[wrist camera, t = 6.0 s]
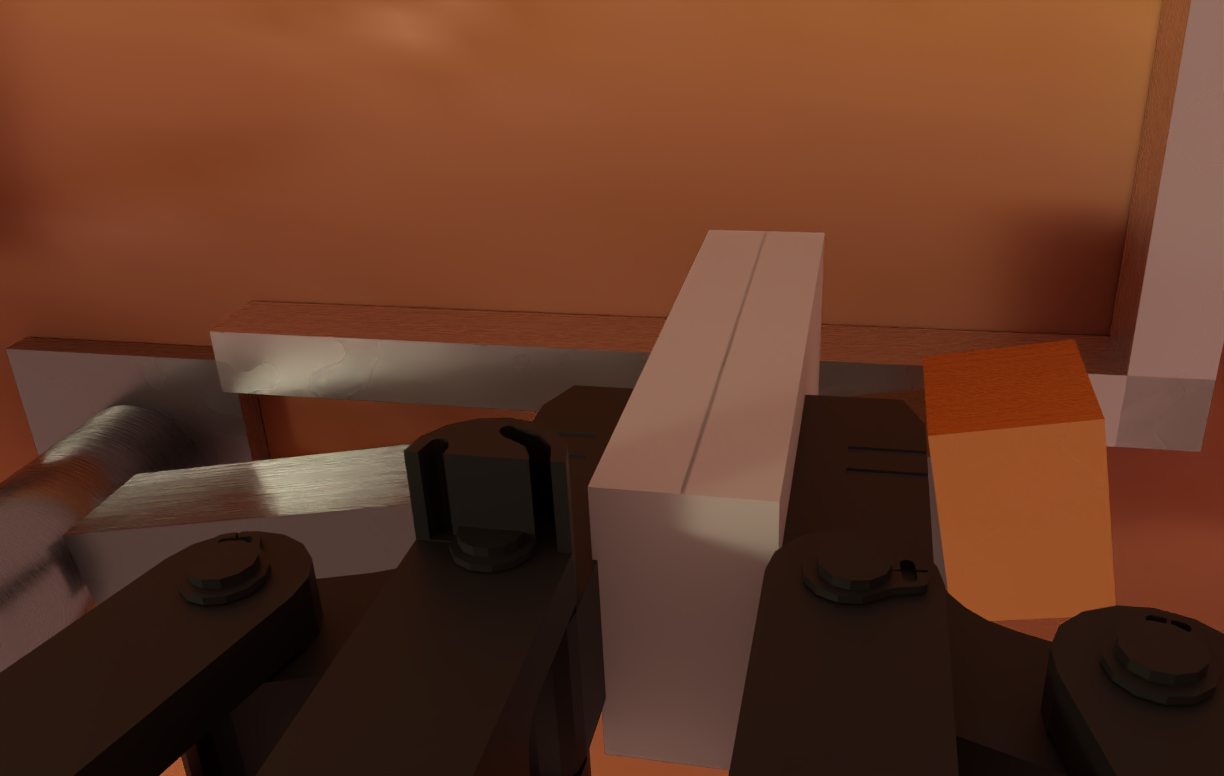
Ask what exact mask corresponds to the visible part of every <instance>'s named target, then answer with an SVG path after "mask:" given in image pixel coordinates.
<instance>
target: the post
mask: <svg viewBox="0 0 1224 776" xmlns="http://www.w3.org/2000/svg"><path fill="white" fill-rule="evenodd" d="M6 352H7V355H8V358H9V361H10V365H11V368H12V371H13V374H14V378H15V381H16V384H17V387H18V391H19V394H20V397H21V401H22V404H23V407H24V410H25V414H26V417H27V420H28V423H29V427H30V430H31V433H32V437H33V440H34V443H35V446H36V450H37V453H38V457H36V458H35V459H34V460H32V461H31V462H30V463H28V464H27V465H25V466H24V467H23V468H21V469H20V470H18V471H17V472H16V473H14V474H13V475H11V476H10V477H9V478H7V479H6V480H4V481H3V482H2V483H0V672H2V671H3V670H5V669H6V668H8V667H9V666H10V665H12V664H13V663H15V662H16V661H18V660H19V659H21V658H22V657H24V656H25V655H26V654H28V653H29V652H31V651H32V650H34V649H35V648H37V647H38V646H40V645H41V644H42V643H44V642H45V641H47V640H48V639H50V638H51V637H53V636H54V635H56V634H57V633H58V632H60V631H61V630H63V629H64V628H66V627H67V626H69V625H70V624H71V623H73V622H74V621H76V620H77V619H79V618H80V617H82V616H83V615H85V614H86V613H87V612H89V611H90V610H92V609H93V608H95V607H96V604H95V602H94V600H93V597H92V595H91V593H90V591H89V589H88V587H87V585H86V583H85V581H84V579H83V577H82V575H81V573H80V571H79V569H78V567H77V565H76V563H75V561H74V559H73V556H72V554H71V552H70V550H69V548H68V546H67V544H66V542H65V540H64V538H63V535H64V534H65V533H66V532H67V531H69V530H70V529H71V528H72V527H73V526H75V525H76V524H77V523H78V522H79V521H81V520H82V519H83V518H84V517H85V516H87V515H88V514H89V513H90V512H91V511H93V510H94V509H95V508H96V507H97V506H99V505H100V504H101V503H102V502H103V501H105V500H106V499H107V498H108V497H109V496H111V495H112V494H113V493H114V492H115V491H117V490H118V489H119V488H120V487H121V486H123V485H124V484H125V483H126V482H127V481H129V480H130V479H131V478H132V477H133V476H135V475H136V474H140V473H150V472H159V471H168V470H177V469H186V468H196V467H205V466H214V465H223V464H233V463H242V462H251V461H260V460H269V459H270V458H269V453H268V448H267V443H266V438H265V433H264V428H263V423H262V418H261V413H260V408H259V403H258V399H257V394H247V393H231V392H222V387H221V383H220V378H219V374H218V369H217V364H216V360H215V355H214V351H213V347H206V346H187V345H167V344H148V343H129V342H109V341H90V340H71V339H51V338H32V337H26V338H24V339H22V340H20V341H19V342H17V343H15V344H13V345H12V346H10V347H8V348H6Z"/></svg>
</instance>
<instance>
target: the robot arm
mask: <svg viewBox="0 0 1224 776" xmlns="http://www.w3.org/2000/svg"><path fill="white" fill-rule="evenodd" d="M824 238H825V233H822V232H779V231H739V230H709V231H708V233H707V235H706V237H705V239H704V241H703V244H702V246H701V248H700V250H699V252H698V254H697V256H696V258H695V261H694V263H693V265H692V267H691V269H690V271H689V273H688V275H687V277H686V280H685V282H684V284H683V286H682V288H681V290H680V292H679V294H678V297H677V299H676V301H675V303H674V305H673V307H672V309H671V311H670V313H669V316H668V318H667V320H666V322H665V324H664V326H663V328H662V330H661V333H660V335H659V337H658V339H657V341H656V343H655V345H654V347H653V349H652V352H651V354H650V356H649V358H648V360H647V362H646V364H645V366H644V369H643V371H642V373H641V375H640V377H639V379H638V381H637V383H636V385H635V388H616V387H598V386H580V385H574V386H572V387H571V388H569V389H567V390H566V391H564V392H563V393H561V394H560V395H558V396H556V397H555V398H553V399H552V400H550V401H549V402H547V403H545V404H544V405H543V406H542V408H541V409H540V411H539V412H538V414H537V416H536V417H535V419H534V420H533V422H530V421H524V420H519V419H513V418H487V419H474V420H470V421H465V422H460V423H455V424H450V425H446V426H444V427H442V428H439V429H437V430H435V431H432V432H430V433H428V434H425V435H423V436H421V437H420V438H418V439H417V440H416V441H415V442H414V443H412V444H411V445H410V446H409V447H407V448H406V449H405V450H404V451H403V452H404V459H405V466H406V473H407V480H408V487H409V494H410V501H411V507H412V514H413V521H414V528H415V535H416V540H415V542H414V543H413V545H412V546H411V548H410V549H409V551H408V552H407V554H406V555H405V556H404V558H403V559H402V561H401V562H400V564H399V565H398V567H397V568H396V569H390V570H385V571H379V572H374V573H365V574H356V575H347V576H338V577H329V578H319V579H316V576H315V571H314V566H313V560H312V558H311V556H310V554H309V553H308V551H307V549H306V547H305V546H304V544H303V543H301V542H299V541H297V540H295V539H293V538H290V537H288V536H286V535H284V534H278V533H269V532H261V531H241V533H237V532H233V533H226V534H221V535H218V536H216V537H215V538H211V539H208V540H205V541H201V542H198V543H195V544H192V545H190V546H189V547H187V548H185V549H183V550H181V551H179V552H177V553H175V554H174V555H172V556H170V557H168V558H166V559H164V560H163V561H162V562H160V563H159V564H157V565H156V566H154V567H153V568H151V569H150V570H149V571H147V572H146V573H144V574H143V575H141V576H140V577H138V578H137V579H135V580H134V581H133V582H131V583H130V584H128V585H127V586H125V587H124V588H122V589H121V590H119V591H118V592H117V593H115V594H114V595H112V596H111V597H109V598H108V599H106V600H105V601H103V602H102V603H101V604H99V605H98V606H96V607H95V608H93V609H92V610H90V611H89V612H87V613H86V614H85V615H83V616H82V617H80V618H79V619H77V620H76V621H74V622H73V623H71V624H70V625H69V626H67V627H66V628H64V629H63V630H61V631H60V632H58V633H57V634H56V635H54V636H53V637H51V638H50V639H48V640H47V641H45V642H44V643H42V644H41V645H40V646H38V647H37V648H35V649H34V650H32V651H31V652H29V653H28V654H26V655H25V656H24V657H22V658H21V659H19V660H18V661H16V662H15V663H13V664H12V665H10V666H9V667H8V668H6V669H5V670H3V671H2V672H0V776H159V775H160V774H161V773H163V772H164V771H165V770H166V769H167V768H168V767H169V766H170V765H172V764H173V763H174V762H175V761H176V760H177V759H178V758H179V757H181V758H182V761H183V765H184V768H185V772H186V775H187V776H591V766H590V752H589V748H590V745H591V742H592V739H593V736H594V733H595V730H596V727H597V724H598V721H599V718H600V715H601V712H602V720H603V736H604V752H605V754H609V755H617V756H625V757H632V758H640V759H648V760H655V761H663V762H671V763H678V764H685V765H693V766H700V767H708V768H716V769H724V770H729V776H1224V634H1223V633H1221V632H1219V631H1217V630H1215V629H1213V628H1211V627H1209V626H1207V625H1205V624H1203V623H1201V622H1199V621H1197V620H1195V619H1192V618H1188V617H1185V616H1181V615H1178V614H1175V613H1170V612H1168V611H1163V610H1159V609H1156V608H1144V607H1130V606H1110V607H1104V608H1099V609H1094V610H1088V611H1083V612H1081V613H1079V614H1078V615H1076V616H1074V617H1073V618H1071V619H1070V620H1068V621H1066V622H1065V623H1063V624H1061V625H1060V626H1059V628H1058V630H1057V633H1056V635H1055V637H1054V640H1053V642H1050V641H1047V640H1043V639H1040V638H1037V637H1033V636H1030V635H1027V634H1024V633H1020V632H1017V631H1014V630H1011V629H1009V628H1006V627H1004V626H1001V625H998V624H996V623H993V622H990V621H988V620H986V619H985V618H983V617H981V616H979V615H978V614H976V613H974V612H972V611H971V610H969V609H967V608H966V607H964V606H963V605H962V604H961V603H960V602H958V601H957V600H956V599H955V598H954V597H953V596H951V595H950V594H949V593H948V591H947V590H946V589H945V584H944V582H943V579H942V577H941V574H940V572H939V570H938V567H937V565H935V564H934V558H933V542H932V526H931V510H930V494H929V479H928V461H927V445H926V429H925V424H924V422H923V421H922V420H921V419H920V418H919V417H918V416H917V415H916V414H915V413H914V412H913V410H912V409H911V408H910V407H909V406H908V405H907V404H906V403H905V402H904V401H903V400H894V399H876V398H858V397H839V396H821V395H818V393H819V367H820V341H821V316H822V290H823V264H824Z"/></svg>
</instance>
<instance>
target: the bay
mask: <svg viewBox="0 0 1224 776" xmlns="http://www.w3.org/2000/svg"><path fill="white" fill-rule="evenodd" d="M666 320H667V318H650V317H625V316H601V315H577V314H553V313H528V312H504V311H480V310H456V309H432V308H407V307H383V306H359V305H335V304H310V303H286V302H262V301H251V302H250V303H248V304H247V305H246V306H244V307H243V308H241V309H240V310H239V311H237V312H236V313H234V314H233V315H232V316H230V317H229V318H227V319H226V320H225V321H223V322H222V323H220V324H219V325H217V326H216V327H215V328H213V329H212V330H210V331H209V332H210V337H211V341H212V346H213V351H214V355H215V360H216V364H217V369H218V374H219V378H220V383H221V387H222V392H231V393H247V394H263V395H279V396H296V397H312V398H328V399H345V400H361V401H377V402H394V403H410V404H426V405H442V406H459V407H475V408H491V409H508V410H524V411H540V409H541V408H542V406H543V405H544V404H545V403H547V402H549V401H550V400H552V399H553V398H555V397H556V396H558V395H560V394H561V393H563V392H564V391H566V390H567V389H569V388H571V387H572V386H574V385H580V386H598V387H616V388H635V385H636V383H637V381H638V379H639V377H640V375H641V373H642V371H643V369H644V366H645V364H646V362H647V360H648V358H649V356H650V354H651V352H652V349H653V347H654V345H655V343H656V341H657V339H658V337H659V335H660V333H661V330H662V328H663V326H664V324H665V322H666ZM1071 339H1075V342H1076V345H1077V347H1078V350H1079V353H1080V355H1081V358H1082V360H1083V363H1084V366H1085V368H1086V371H1087V374H1088V376H1089V379H1090V382H1091V384H1092V387H1093V390H1094V392H1095V395H1096V397H1097V400H1098V403H1099V405H1100V408H1101V411H1102V413H1103V416H1104V419H1105V433H1106V446H1110V447H1127V448H1143V449H1159V450H1176V451H1192V452H1201V448H1202V443H1203V439H1204V434H1205V429H1206V424H1207V419H1208V415H1209V410H1210V405H1211V400H1212V396H1213V391H1214V386H1215V381H1216V376H1217V372H1218V367H1219V362H1220V357H1221V352H1222V348H1223V343H1224V0H1163V6H1162V13H1161V19H1160V25H1159V31H1158V38H1157V44H1156V50H1155V56H1154V63H1153V69H1152V75H1151V81H1150V88H1149V94H1148V100H1147V106H1146V112H1145V119H1144V125H1143V131H1142V137H1141V144H1140V150H1139V156H1138V162H1137V169H1136V175H1135V181H1134V187H1133V194H1132V200H1131V206H1130V212H1129V218H1128V225H1127V231H1126V237H1125V243H1124V250H1123V256H1122V262H1121V268H1120V275H1119V281H1118V287H1117V293H1116V300H1115V306H1114V312H1113V318H1112V325H1111V331H1110V336H1086V335H1061V334H1037V333H1013V332H989V331H964V330H940V329H916V328H892V327H868V326H843V325H821V341H820V367H819V393H818V395H821V396H839V397H850V396H860V395H869V394H878V393H887V392H896V391H906V390H915V389H924V388H925V387H924V372H923V357H925V356H934V355H942V354H951V353H959V352H968V351H976V350H985V349H994V348H1002V347H1011V346H1019V345H1028V344H1036V343H1045V342H1054V341H1062V340H1071Z"/></svg>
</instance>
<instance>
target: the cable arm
mask: <svg viewBox="0 0 1224 776" xmlns="http://www.w3.org/2000/svg"><path fill="white" fill-rule="evenodd" d="M923 372H924V387H925V388H924V389H915V390H906V391H896V392H887V393H878V394H869V395H860V396H850V397H858V398H876V399H894V400H903V401H904V402H905V403H906V404H907V405H908V406H909V407H910V408H911V409H912V410H913V412H914V413H915V414H916V415H917V416H918V417H919V418H920V419H921V420H922V421H923V422H924V424H925V429H926V445H927V461H928V479H929V494H930V510H931V526H932V542H933V558H934V564H935V565H937V567H938V570H939V572H940V574H941V577H942V579H943V582H944V584H945V589H948V593H949V594H950V595H951V596H953V597H954V598H955V599H956V600H957V601H958V602H960V603H961V604H962V605H963V606H964V607H966V608H967V609H969V610H971V611H972V612H974V613H976V614H978V615H979V616H981V617H983V618H985V619H986V620H988V621H1005V620H1026V619H1047V618H1068V617H1074V616H1076V615H1078V614H1079V613H1081V612H1083V611H1088V610H1094V609H1099V608H1104V607H1110V606H1116V599H1115V583H1114V566H1113V549H1112V533H1111V516H1110V499H1109V483H1108V466H1107V449H1106V433H1105V419H1104V416H1103V413H1102V411H1101V408H1100V405H1099V403H1098V400H1097V397H1096V395H1095V392H1094V390H1093V387H1092V384H1091V382H1090V379H1089V376H1088V374H1087V371H1086V368H1085V366H1084V363H1083V360H1082V358H1081V355H1080V353H1079V350H1078V347H1077V345H1076V342H1075V339H1071V340H1062V341H1054V342H1045V343H1036V344H1028V345H1019V346H1011V347H1002V348H994V349H985V350H976V351H968V352H959V353H951V354H942V355H934V356H925V357H923ZM410 445H411V444H408V445H399V446H389V447H380V448H371V449H362V450H352V451H343V452H334V453H325V454H316V455H306V456H297V457H288V458H279V459H269V460H260V461H251V462H242V463H233V464H223V465H214V466H205V467H196V468H186V469H177V470H168V471H159V472H150V473H140V474H136V475H135V476H133V477H132V478H131V479H130V480H129V481H127V482H126V483H125V484H124V485H123V486H121V487H120V488H119V489H118V490H117V491H115V492H114V493H113V494H112V495H111V496H109V497H108V498H107V499H106V500H105V501H103V502H102V503H101V504H100V505H99V506H97V507H96V508H95V509H94V510H93V511H91V512H90V513H89V514H88V515H87V516H85V517H84V518H83V519H82V520H81V521H79V522H78V523H77V524H76V525H75V526H73V527H72V528H71V529H70V530H69V531H67V532H66V533H65V534H64V535H63V538H64V540H65V542H66V544H67V546H68V548H69V550H70V552H71V554H72V556H73V559H74V561H75V563H76V565H77V567H78V569H79V571H80V573H81V575H82V577H83V579H84V581H85V583H86V585H87V587H88V589H89V591H90V593H91V595H92V597H93V600H94V602H95V604H96V606H98V605H99V604H101V603H102V602H103V601H105V600H106V599H108V598H109V597H111V596H112V595H114V594H115V593H117V592H118V591H119V590H121V589H122V588H124V587H125V586H127V585H128V584H130V583H131V582H133V581H134V580H135V579H137V578H138V577H140V576H141V575H143V574H144V573H146V572H147V571H149V570H150V569H151V568H153V567H154V566H156V565H157V564H159V563H160V562H162V561H163V560H164V559H166V558H168V557H170V556H172V555H174V554H175V553H177V552H179V551H181V550H183V549H185V548H187V547H189V546H190V545H192V544H195V543H198V542H201V541H205V540H208V539H211V538H215V537H216V536H218V535H221V534H226V533H233V532H237V533H241V531H261V532H269V533H278V534H284V535H286V536H288V537H290V538H293V539H295V540H297V541H299V542H301V543H303V544H304V546H305V547H306V549H307V551H308V553H309V554H310V556H311V558H312V560H313V566H314V571H315V576H316V579H319V578H329V577H338V576H347V575H356V574H365V573H374V572H379V571H385V570H390V569H396V568H397V567H398V565H399V564H400V562H401V561H402V559H403V558H404V556H405V555H406V554H407V552H408V551H409V549H410V548H411V546H412V545H413V543H414V542H415V540H416V535H415V528H414V521H413V514H412V507H411V501H410V494H409V487H408V480H407V473H406V466H405V459H404V452H403V451H404V450H405V449H406V448H407V447H409V446H410Z"/></svg>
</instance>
